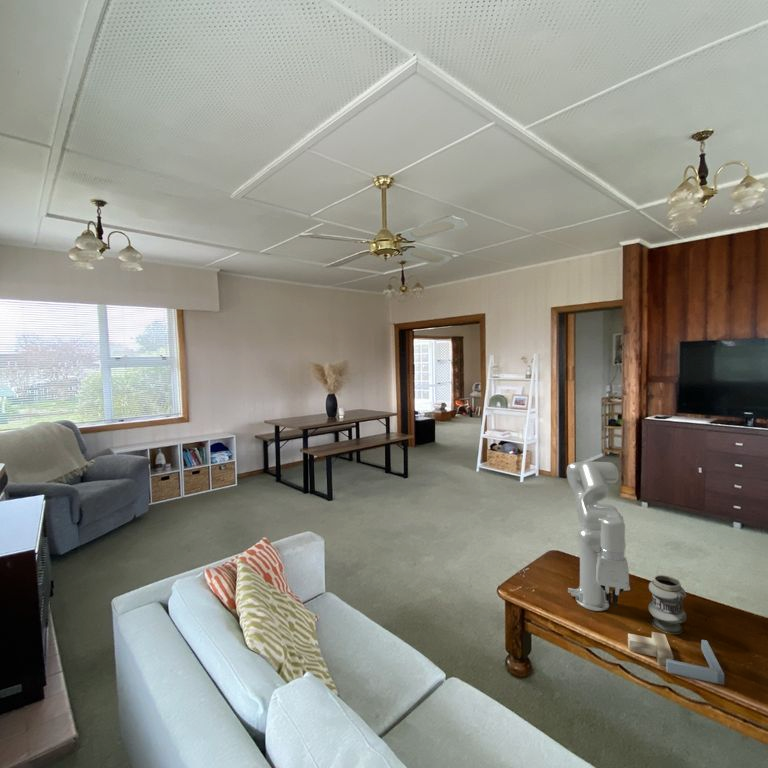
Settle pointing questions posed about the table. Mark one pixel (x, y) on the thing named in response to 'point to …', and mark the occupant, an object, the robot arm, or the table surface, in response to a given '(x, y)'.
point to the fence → (699, 667)
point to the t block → (651, 646)
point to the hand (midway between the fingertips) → (611, 603)
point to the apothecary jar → (667, 604)
